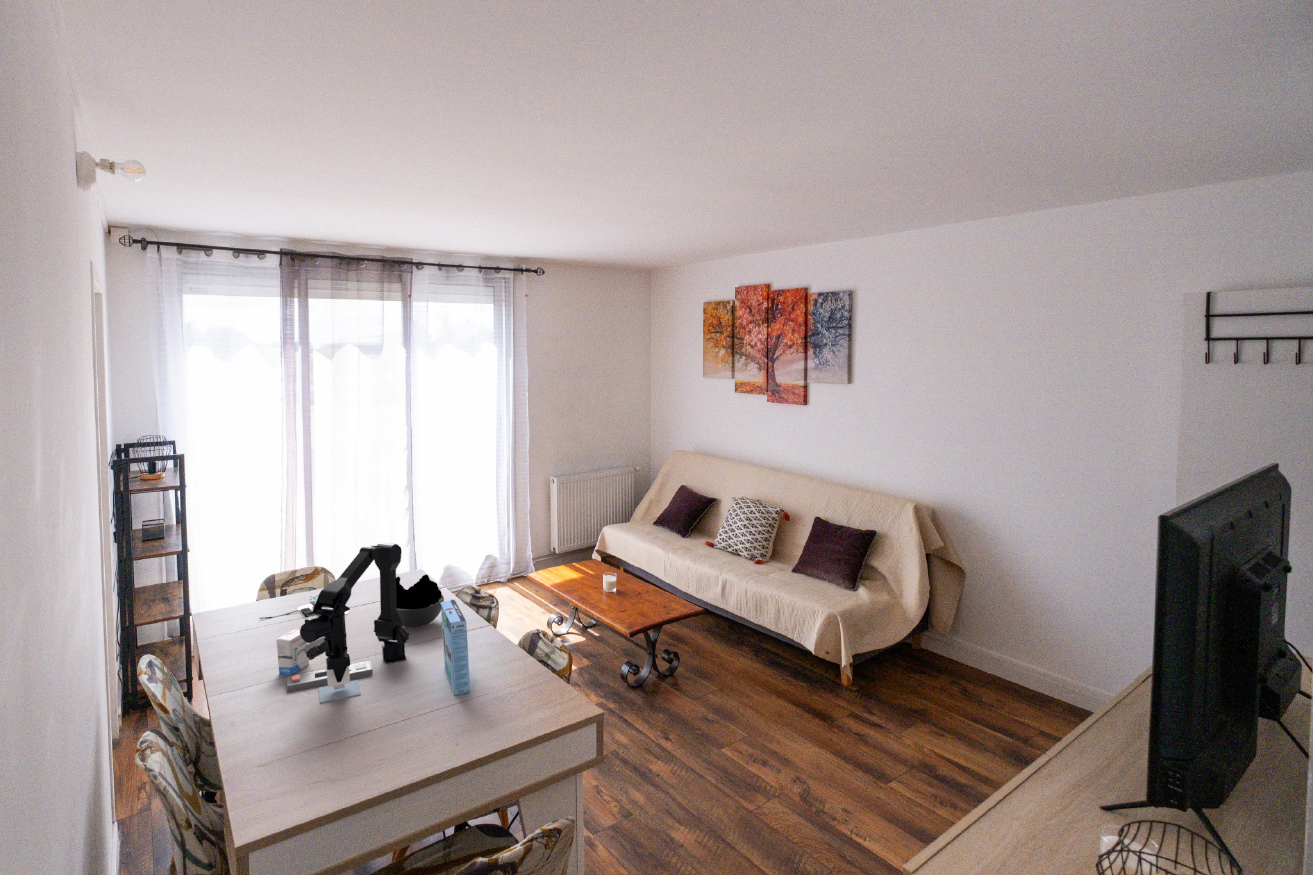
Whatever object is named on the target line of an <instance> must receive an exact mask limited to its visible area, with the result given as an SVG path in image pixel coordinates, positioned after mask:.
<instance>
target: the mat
mask: <svg viewBox="0 0 1313 875" xmlns="http://www.w3.org/2000/svg"><path fill="white" fill-rule="evenodd" d="M344 685H345V688H342V689H337V690H334V688H333V686H332V687H328V685H326V686H325V685H324V686H320V687H318V695H319V696H318V697H319V704H320V705H321V704H325V703H329V702H335V701H339V700H345V699H348V698H349V699H350V698H353V697H357V696H361V689H360V685H359V680H358V679H355V680H350V683H347V684H344Z"/></svg>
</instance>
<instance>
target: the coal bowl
mask: <svg viewBox="0 0 1313 875" xmlns="http://www.w3.org/2000/svg"><path fill="white" fill-rule="evenodd" d="M396 600H397V613H398V615H399V616H400V618H401V620H402V625H403V628H404V627H405V628H408V629H420V628H424V627H426V626H427V625H429V624H431V623H432V622H434V621H435V619H437V617H438V616H439V614H440V613H441V602H445V598H444V595H443V594H442V591H441V589H440V588H439V586H438V583H437V582H435V581H433V580H431V579H430V576H429V575H428V574H423V575H422V576H421V577H420V578H419V579H418V581H417V582H416V583H414V584H413V585H411V586H410V587H408V589H406V588H404V586H403V585H402V584H401V577H400V576H396Z"/></svg>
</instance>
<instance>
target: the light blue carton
mask: <svg viewBox="0 0 1313 875" xmlns="http://www.w3.org/2000/svg"><path fill="white" fill-rule="evenodd" d="M440 613H441V625H442V626H441V627H442V640H443V641H442V643H443V659H444V660H443V661H444V671H445V674H446V678H447V679H448V682H449V685H450V688H451V690H452V693H453V695H454V696H460V695H463V694H464V695H465V694H467V693H468V694H469V693H470V692H471V686H470V680H471V679H470V667H469V666H470V665H469V663H470V662H469V648H468V630H467V619H466V618H465V616H464V614H463V613H462V610H461V608H460V607H459V605H458V604H457V601H456V599H453V600H452V599H451V600H446V601H445V600H444V602H441V612H440Z"/></svg>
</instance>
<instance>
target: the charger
mask: <svg viewBox="0 0 1313 875" xmlns="http://www.w3.org/2000/svg"><path fill="white" fill-rule="evenodd" d="M325 665H326V666H325V669H327V663H326V662H325ZM350 681H351V679H350V675H349V666H347V668H346V671H345V673H344V676H343V678H342V681H341V682H337V680H336V677H335V674H334V671H333V669H332V670H327V682H328V684H327V686H328V687H332V686H333V688H334V690H337V689H342V688H345V685H344V684H347V683H350Z"/></svg>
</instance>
